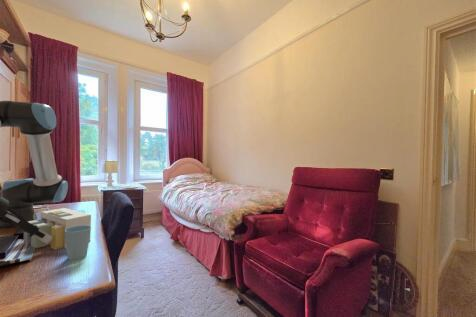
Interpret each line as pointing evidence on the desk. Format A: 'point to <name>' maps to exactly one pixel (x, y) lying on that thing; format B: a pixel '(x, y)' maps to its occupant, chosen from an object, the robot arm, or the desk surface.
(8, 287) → the desk surface
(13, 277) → the desk surface
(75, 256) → the cup
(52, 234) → the yellow square block
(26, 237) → the grey square block
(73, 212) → the console
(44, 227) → the pale green block
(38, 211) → the watch
